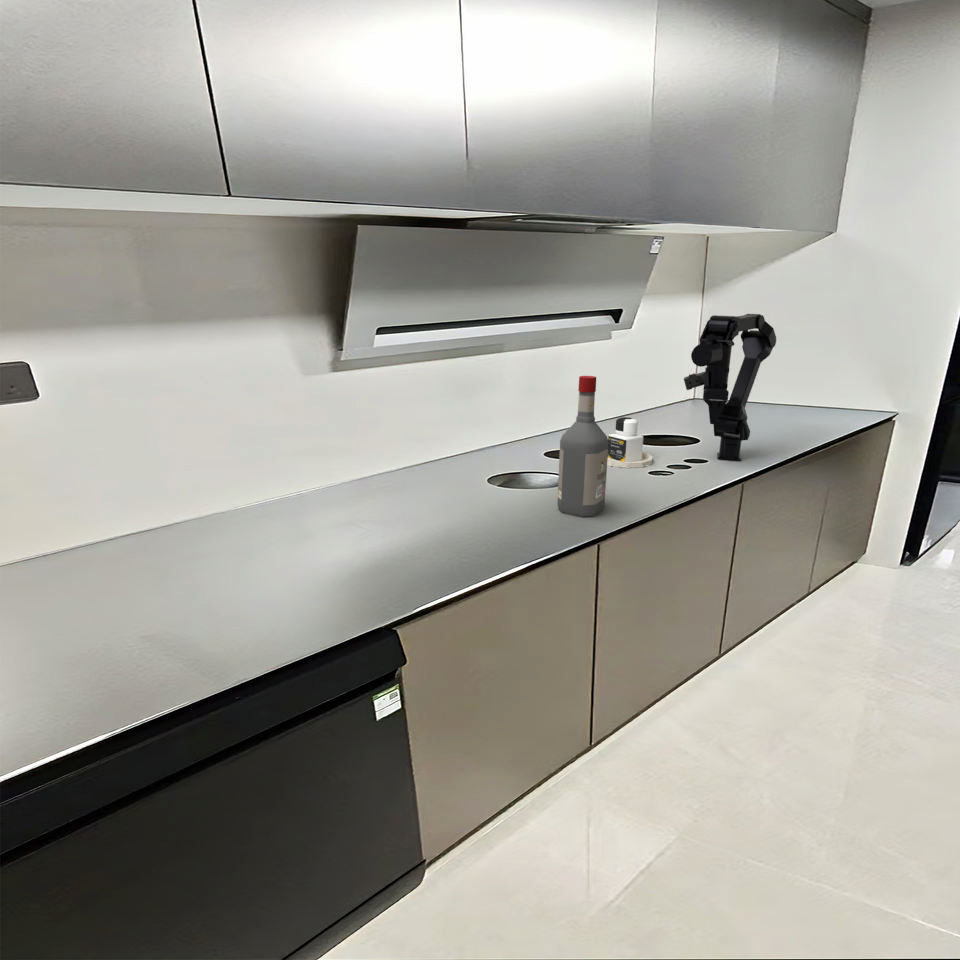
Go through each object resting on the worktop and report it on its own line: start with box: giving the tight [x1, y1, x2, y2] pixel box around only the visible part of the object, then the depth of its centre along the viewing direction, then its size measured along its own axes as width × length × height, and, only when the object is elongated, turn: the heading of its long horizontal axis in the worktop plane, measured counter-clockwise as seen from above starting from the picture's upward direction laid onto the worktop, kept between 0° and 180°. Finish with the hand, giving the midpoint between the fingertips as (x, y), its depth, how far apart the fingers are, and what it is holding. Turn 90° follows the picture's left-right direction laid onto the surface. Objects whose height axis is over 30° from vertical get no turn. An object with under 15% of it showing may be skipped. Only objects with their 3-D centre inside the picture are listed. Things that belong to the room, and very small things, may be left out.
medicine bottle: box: [607, 416, 644, 462], centre depth 190 cm, size 7×7×12 cm
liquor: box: [557, 375, 609, 518], centre depth 146 cm, size 9×9×30 cm
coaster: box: [607, 451, 654, 467], centre depth 191 cm, size 16×16×2 cm
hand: (712, 420), depth 183 cm, fingers open, 9 cm apart
